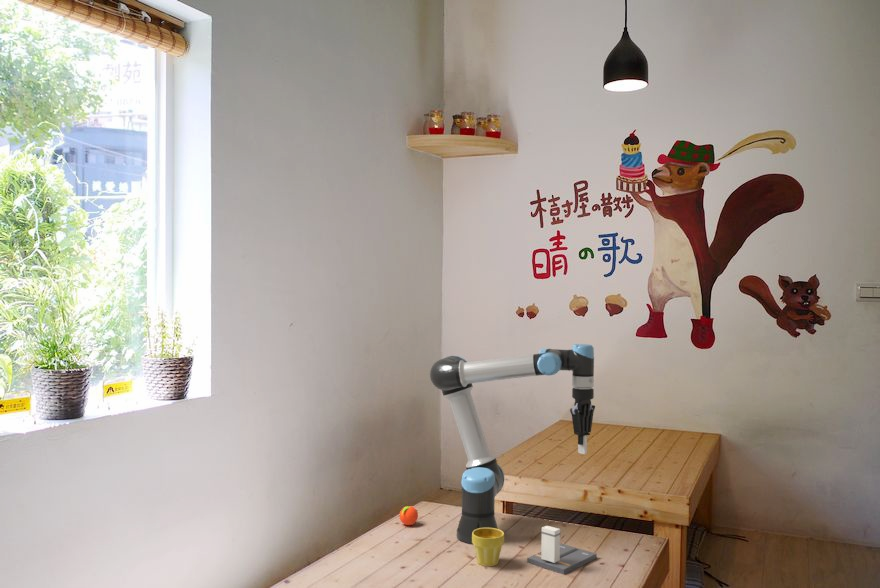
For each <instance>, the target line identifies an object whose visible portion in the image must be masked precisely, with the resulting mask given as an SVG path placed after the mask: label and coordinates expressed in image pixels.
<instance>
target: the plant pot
mask: <svg viewBox="0 0 880 588" xmlns="http://www.w3.org/2000/svg"><path fill="white" fill-rule="evenodd" d="M472 543H473V546H474V550H475V555H476V556H475V557H476V561H477V564H478V565H480V566H483V567H495V566H496V565H498V564H499V560H500V555H501V551H502V546H504V544H505V531H503V530H501V529H499V528H498V529H496V528H479V529H475V530H474V531H473V532H472Z"/></svg>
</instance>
